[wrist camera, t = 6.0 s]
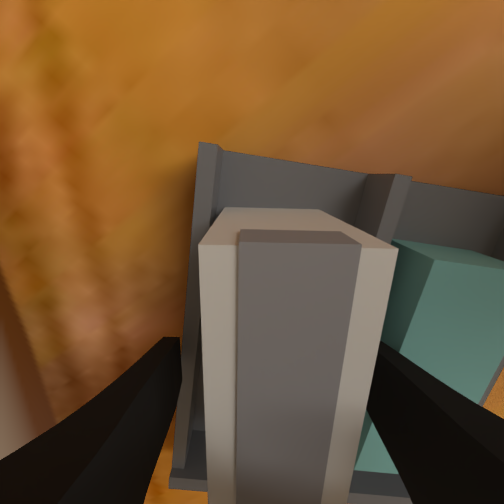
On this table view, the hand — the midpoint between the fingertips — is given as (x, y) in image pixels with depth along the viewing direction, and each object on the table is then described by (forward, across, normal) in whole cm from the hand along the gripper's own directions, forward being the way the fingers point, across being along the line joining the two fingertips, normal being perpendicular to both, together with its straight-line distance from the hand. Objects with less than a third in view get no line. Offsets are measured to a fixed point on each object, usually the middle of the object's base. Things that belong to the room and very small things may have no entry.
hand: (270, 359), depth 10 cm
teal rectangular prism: (+3, -6, +1) cm, 7 cm away
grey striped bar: (+3, 0, -1) cm, 3 cm away
